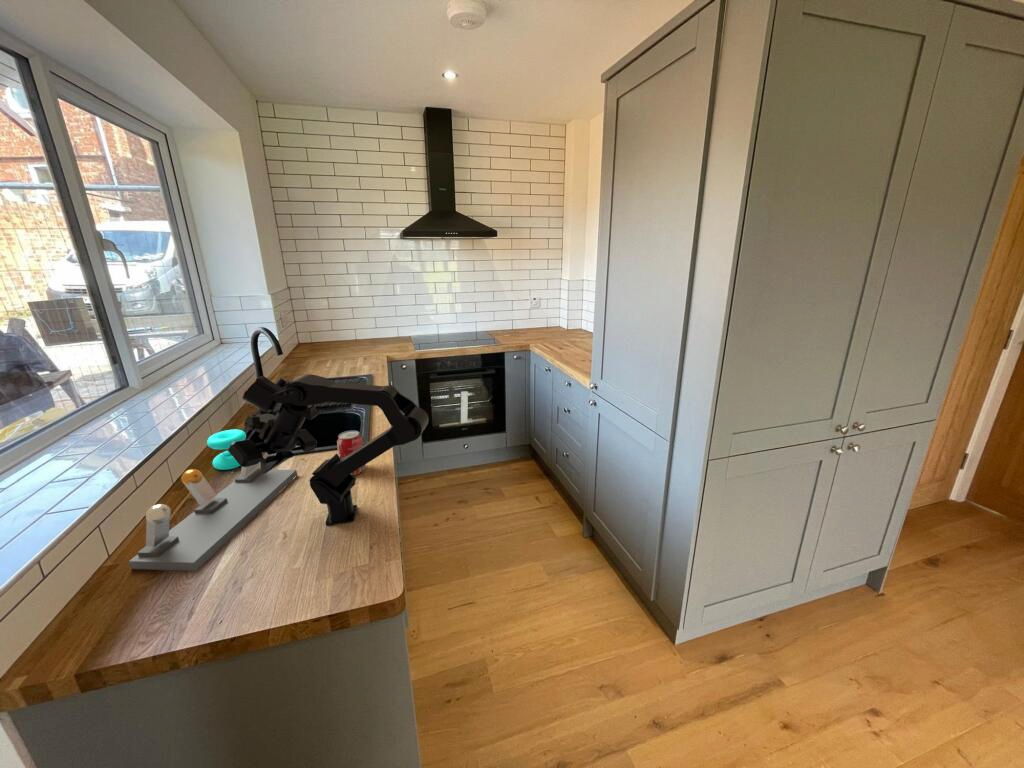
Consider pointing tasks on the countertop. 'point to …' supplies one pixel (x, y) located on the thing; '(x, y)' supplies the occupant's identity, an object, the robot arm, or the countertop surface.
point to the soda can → (349, 445)
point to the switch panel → (213, 522)
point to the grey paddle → (248, 469)
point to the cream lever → (157, 524)
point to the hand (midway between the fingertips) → (263, 472)
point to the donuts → (224, 442)
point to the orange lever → (198, 486)
